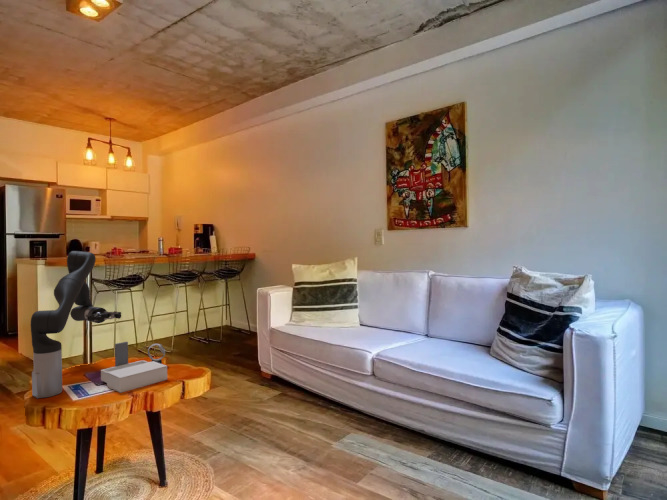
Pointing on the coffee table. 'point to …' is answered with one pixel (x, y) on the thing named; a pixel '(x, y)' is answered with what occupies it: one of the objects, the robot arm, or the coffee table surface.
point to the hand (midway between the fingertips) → (110, 317)
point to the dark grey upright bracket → (120, 360)
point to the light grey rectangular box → (136, 376)
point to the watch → (160, 350)
